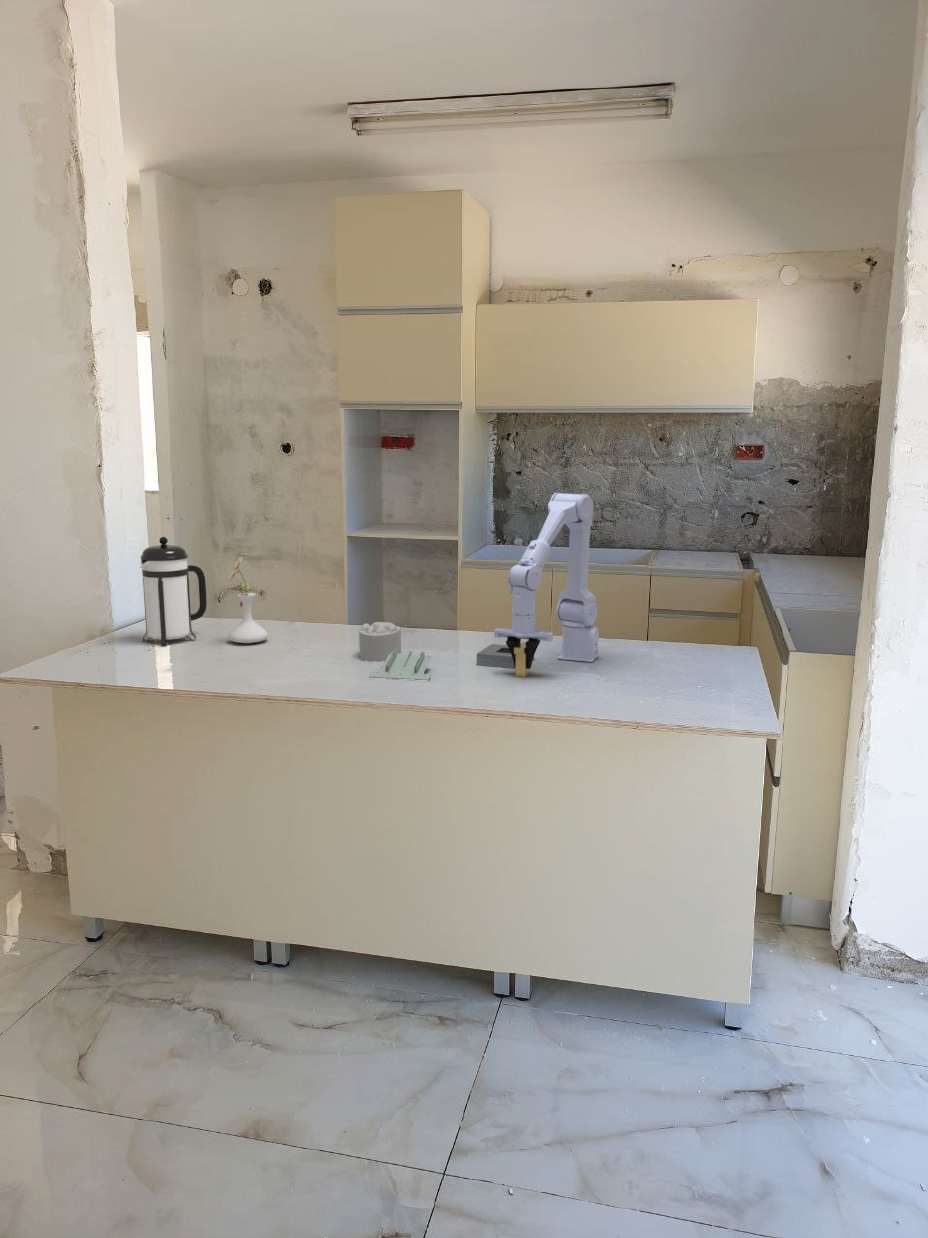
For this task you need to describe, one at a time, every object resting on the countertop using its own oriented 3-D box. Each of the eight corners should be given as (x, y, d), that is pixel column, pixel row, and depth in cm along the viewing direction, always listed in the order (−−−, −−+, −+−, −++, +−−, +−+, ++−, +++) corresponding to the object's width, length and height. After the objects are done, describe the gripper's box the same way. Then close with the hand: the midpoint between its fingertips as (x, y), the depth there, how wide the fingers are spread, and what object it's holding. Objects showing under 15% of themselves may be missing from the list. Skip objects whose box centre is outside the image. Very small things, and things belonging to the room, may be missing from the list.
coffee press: (191, 646, 259) (185, 539, 254) (134, 646, 260) (127, 539, 254) (208, 633, 276) (203, 533, 271) (155, 633, 277) (149, 533, 271)
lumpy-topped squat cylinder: (404, 651, 255) (404, 620, 253) (391, 662, 242) (390, 630, 241) (368, 649, 257) (367, 618, 255) (353, 660, 245) (352, 628, 243)
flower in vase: (237, 636, 272) (233, 552, 267) (274, 638, 271) (271, 553, 266) (219, 646, 260) (215, 558, 255) (258, 648, 258) (255, 559, 253)
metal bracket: (382, 645, 238) (439, 647, 235) (384, 664, 240) (440, 667, 238) (366, 673, 225) (426, 676, 222) (369, 694, 228) (428, 697, 225)
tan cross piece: (531, 671, 233) (531, 642, 232) (523, 678, 227) (524, 648, 226) (521, 670, 234) (522, 641, 233) (513, 677, 228) (514, 647, 226)
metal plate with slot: (534, 658, 247) (534, 647, 246) (520, 669, 236) (521, 657, 235) (491, 654, 251) (491, 643, 250) (476, 664, 240) (476, 653, 239)
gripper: (490, 614, 226) (489, 668, 229) (547, 618, 221) (546, 673, 224) (499, 609, 233) (499, 662, 236) (555, 613, 228) (554, 667, 231)
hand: (522, 667), depth 230 cm, fingers closed on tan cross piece, 2 cm apart
